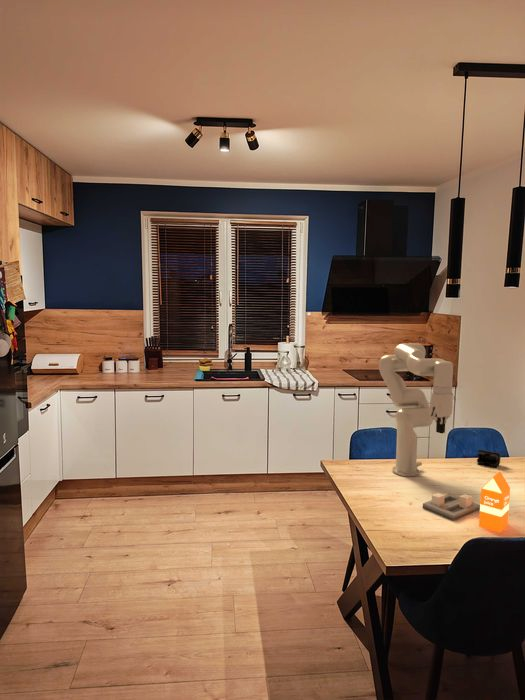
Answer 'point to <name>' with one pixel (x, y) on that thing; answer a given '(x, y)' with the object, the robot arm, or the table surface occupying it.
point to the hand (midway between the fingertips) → (440, 432)
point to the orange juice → (494, 504)
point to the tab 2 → (465, 501)
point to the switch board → (451, 508)
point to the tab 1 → (438, 499)
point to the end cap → (488, 459)
